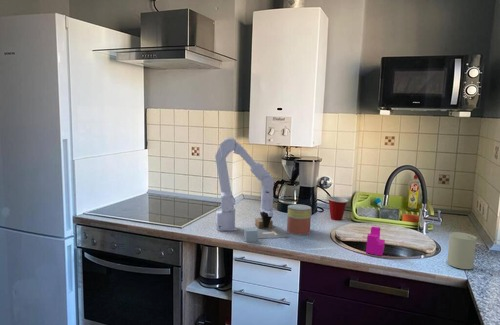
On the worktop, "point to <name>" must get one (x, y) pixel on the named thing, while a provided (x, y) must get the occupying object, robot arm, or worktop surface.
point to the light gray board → (271, 233)
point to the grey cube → (250, 234)
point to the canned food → (299, 219)
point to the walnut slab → (260, 224)
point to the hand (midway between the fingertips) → (265, 227)
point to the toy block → (375, 242)
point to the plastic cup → (337, 207)
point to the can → (461, 250)
